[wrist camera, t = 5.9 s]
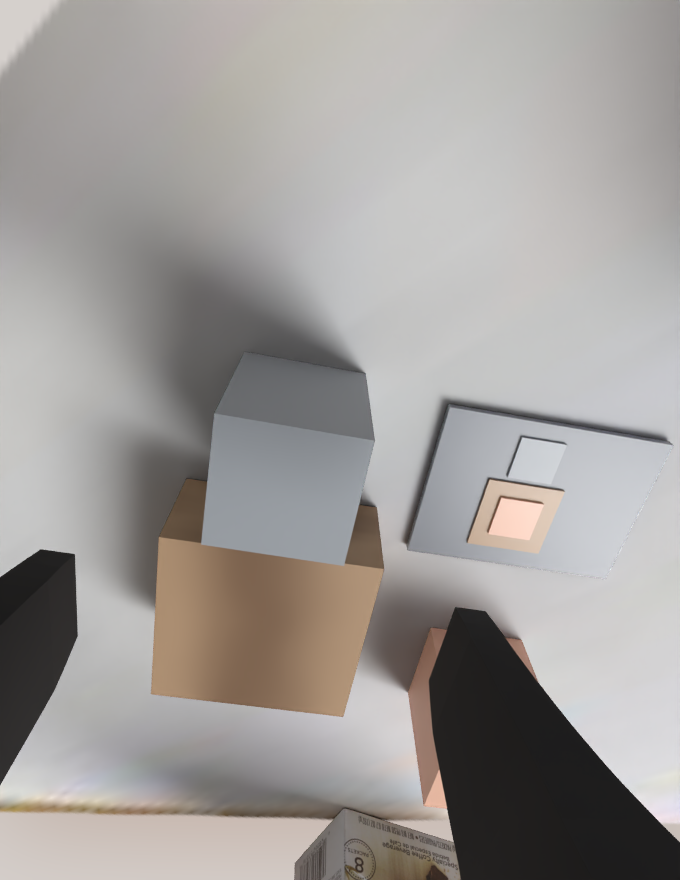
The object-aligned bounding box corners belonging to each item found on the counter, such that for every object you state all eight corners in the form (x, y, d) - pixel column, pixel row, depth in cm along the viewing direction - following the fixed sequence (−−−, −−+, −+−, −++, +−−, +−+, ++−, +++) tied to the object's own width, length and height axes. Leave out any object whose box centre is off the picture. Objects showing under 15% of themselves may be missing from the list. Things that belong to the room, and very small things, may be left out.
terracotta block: (521, 639, 24) (564, 749, 19) (492, 702, 26) (526, 817, 21) (430, 626, 23) (453, 736, 19) (407, 691, 25) (423, 805, 21)
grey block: (365, 373, 18) (374, 440, 14) (342, 476, 20) (343, 565, 16) (244, 351, 18) (214, 413, 14) (231, 458, 20) (201, 544, 15)
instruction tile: (669, 441, 19) (676, 447, 19) (602, 574, 22) (608, 582, 22) (448, 403, 19) (451, 409, 18) (406, 545, 21) (408, 553, 21)
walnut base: (376, 507, 21) (384, 569, 17) (342, 643, 24) (342, 716, 21) (186, 478, 20) (158, 536, 17) (176, 622, 23) (151, 694, 20)
